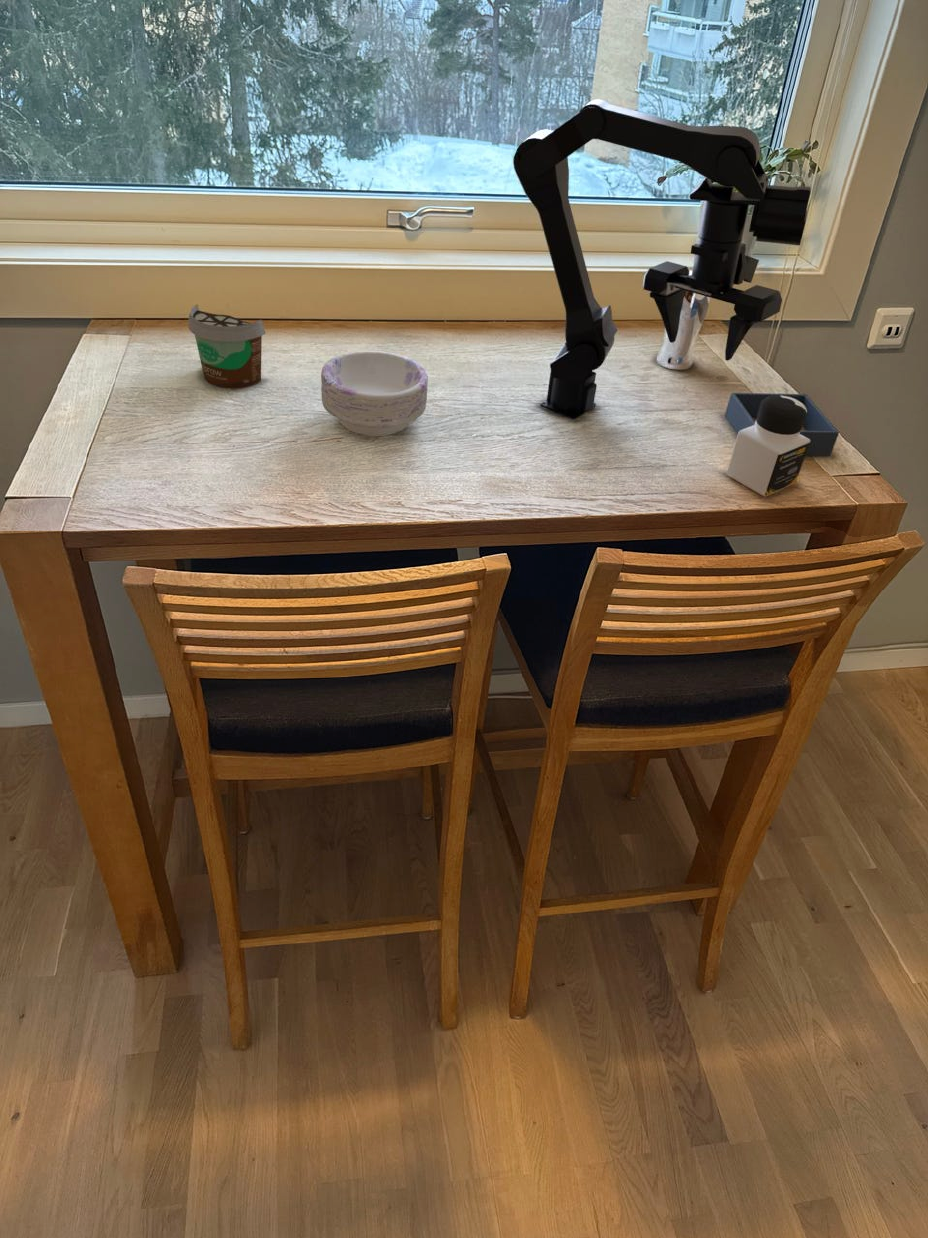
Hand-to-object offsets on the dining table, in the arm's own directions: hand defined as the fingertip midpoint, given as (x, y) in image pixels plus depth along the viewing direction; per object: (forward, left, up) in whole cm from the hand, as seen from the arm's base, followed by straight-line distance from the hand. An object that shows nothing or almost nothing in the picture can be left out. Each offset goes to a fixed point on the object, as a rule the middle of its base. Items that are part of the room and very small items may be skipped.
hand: (699, 350), depth 129 cm
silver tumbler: (-13, +22, -13) cm, 29 cm away
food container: (-60, -38, -13) cm, 72 cm away
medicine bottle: (+15, -5, -13) cm, 21 cm away
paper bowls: (-35, -31, -13) cm, 48 cm away
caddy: (+11, +10, -13) cm, 20 cm away
